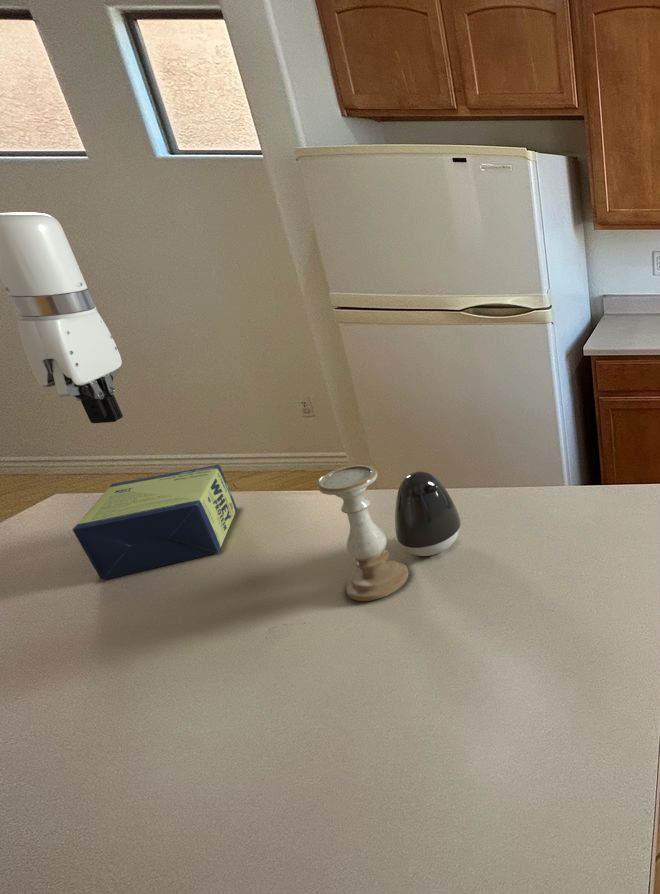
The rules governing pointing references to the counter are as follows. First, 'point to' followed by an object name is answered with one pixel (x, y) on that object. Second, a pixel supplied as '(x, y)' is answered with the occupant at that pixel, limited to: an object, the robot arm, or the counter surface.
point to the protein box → (157, 521)
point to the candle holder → (364, 535)
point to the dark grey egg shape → (425, 515)
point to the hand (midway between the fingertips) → (107, 420)
